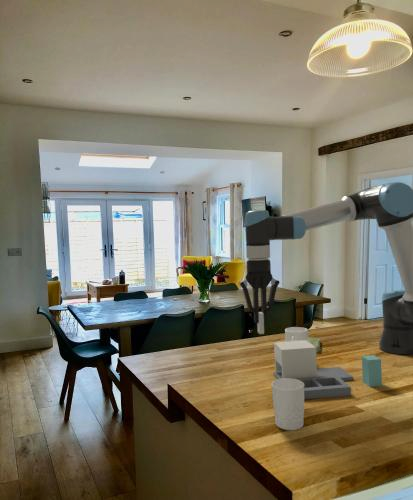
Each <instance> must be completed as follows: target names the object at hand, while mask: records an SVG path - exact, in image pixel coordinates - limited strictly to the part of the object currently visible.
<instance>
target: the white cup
mask: <svg viewBox="0 0 413 500" xmlns="http://www.w3.org/2000/svg"><path fill="white" fill-rule="evenodd" d="M271 394H272V403H273V404H272V405H273V411H274V420H275V421H274V423H275V425H276V427H278V428H280V430H286V431H297V430H300V429H302V428H303V426H304V416H305V399H304V383H303V382H302V381H300V380H297V379H292V378H282V379H275V380H272V382H271Z"/></svg>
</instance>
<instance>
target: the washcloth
mask: <svg viewBox="0 0 413 500" xmlns="http://www.w3.org/2000/svg"><path fill="white" fill-rule="evenodd" d="M308 342H309V343H311V344H312V345H313V346H315V347H316V354H317V353H318V352H319V353H320V352H321V351H322V349H321V342H322V340H321V339H320V338H318V337H312V336H311V337H309V336H308ZM319 353H318V354H319Z"/></svg>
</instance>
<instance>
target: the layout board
mask: <svg viewBox="0 0 413 500" xmlns="http://www.w3.org/2000/svg"><path fill="white" fill-rule="evenodd" d="M281 367H282V366H281ZM330 375H337V376H338V377H339V378H340V379H342V380H343V381H344V382H346V381H354V378H355V377H354V376H353V375H351V374H350V373H349V372H348V371H346V370H344V368H342V367H341V366H334V367H333V366H332V367H331V366H330V367H321V368H320V367H319V368H318V367H317V376H330ZM273 376H274V378H275V380H277V379H282V371H281V372H276V371H273Z"/></svg>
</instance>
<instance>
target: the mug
mask: <svg viewBox="0 0 413 500" xmlns="http://www.w3.org/2000/svg"><path fill="white" fill-rule="evenodd" d="M308 331H309V330H308V328H306V327H299V326H292V327H286V328H285V329H284V335H285V336H284V337H285V339H284V340H285V342H288V341H302V340H307V341H308V337H309V332H308Z"/></svg>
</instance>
